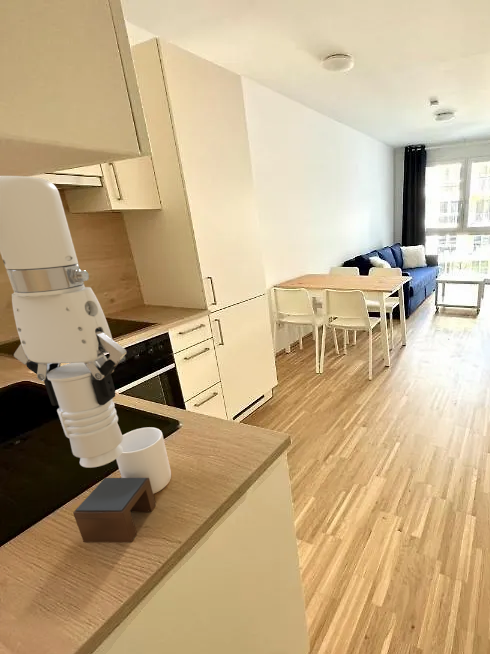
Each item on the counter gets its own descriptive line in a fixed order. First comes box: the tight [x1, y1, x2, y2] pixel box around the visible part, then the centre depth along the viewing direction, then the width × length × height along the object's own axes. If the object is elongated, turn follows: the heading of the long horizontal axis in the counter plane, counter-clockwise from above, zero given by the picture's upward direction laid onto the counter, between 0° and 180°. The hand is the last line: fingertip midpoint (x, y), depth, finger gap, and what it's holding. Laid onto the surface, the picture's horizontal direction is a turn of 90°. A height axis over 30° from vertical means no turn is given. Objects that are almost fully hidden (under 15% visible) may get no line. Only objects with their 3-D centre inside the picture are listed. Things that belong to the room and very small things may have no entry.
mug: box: [115, 426, 172, 495], centre depth 71 cm, size 12×8×10 cm
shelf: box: [72, 477, 157, 543], centre depth 61 cm, size 8×8×6 cm
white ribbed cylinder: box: [47, 361, 123, 469], centre depth 54 cm, size 7×7×15 cm
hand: (84, 399), depth 54 cm, fingers closed on white ribbed cylinder, 6 cm apart
